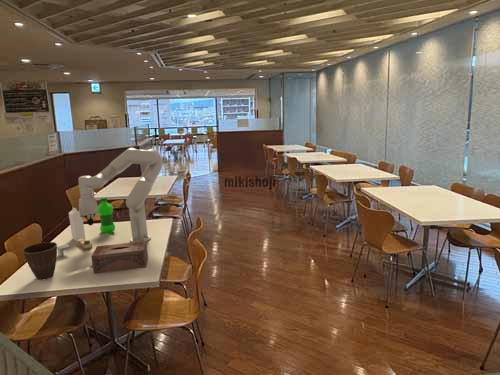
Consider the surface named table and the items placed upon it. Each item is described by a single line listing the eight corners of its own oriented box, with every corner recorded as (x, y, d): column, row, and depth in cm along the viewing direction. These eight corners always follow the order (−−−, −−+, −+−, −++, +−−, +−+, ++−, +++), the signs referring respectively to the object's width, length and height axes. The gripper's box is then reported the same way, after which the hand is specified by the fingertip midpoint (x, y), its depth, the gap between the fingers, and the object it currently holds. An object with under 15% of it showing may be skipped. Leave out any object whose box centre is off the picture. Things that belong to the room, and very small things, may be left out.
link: (93, 248, 221) (92, 241, 220) (85, 250, 218) (83, 243, 217) (84, 242, 232) (83, 235, 231) (75, 244, 229) (74, 237, 228)
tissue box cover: (93, 274, 188) (91, 256, 186) (99, 263, 202) (97, 246, 200) (145, 268, 192) (143, 250, 190) (148, 257, 206) (146, 240, 204)
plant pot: (66, 275, 188) (61, 245, 184) (34, 286, 177) (29, 255, 174) (55, 268, 198) (50, 240, 194) (24, 278, 187) (18, 248, 183)
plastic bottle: (97, 235, 249) (92, 199, 244) (107, 230, 259) (102, 195, 254) (109, 236, 246) (104, 199, 241) (119, 231, 256) (114, 196, 251)
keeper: (71, 256, 213) (70, 246, 212) (61, 259, 209) (59, 249, 208) (69, 254, 217) (67, 244, 215) (58, 257, 213) (57, 246, 212)
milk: (76, 242, 237) (71, 209, 232) (72, 240, 241) (67, 208, 236) (86, 240, 241) (80, 207, 236) (82, 238, 245) (77, 206, 240)
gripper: (97, 193, 232) (100, 221, 236) (72, 197, 222) (75, 226, 226) (101, 194, 227) (105, 223, 230) (76, 199, 217) (80, 229, 220)
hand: (90, 224), depth 228 cm, fingers closed
